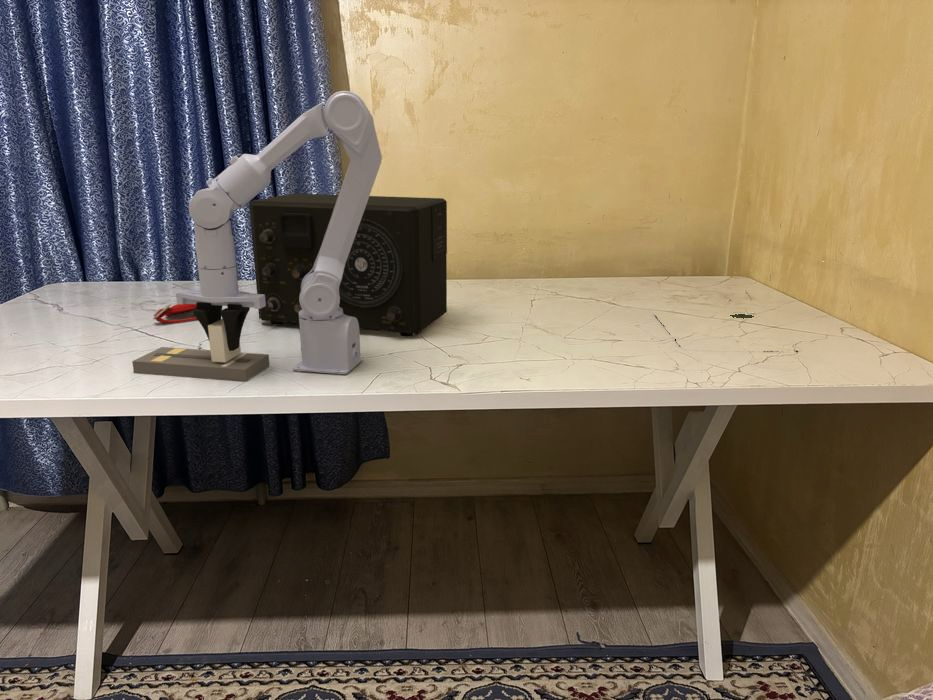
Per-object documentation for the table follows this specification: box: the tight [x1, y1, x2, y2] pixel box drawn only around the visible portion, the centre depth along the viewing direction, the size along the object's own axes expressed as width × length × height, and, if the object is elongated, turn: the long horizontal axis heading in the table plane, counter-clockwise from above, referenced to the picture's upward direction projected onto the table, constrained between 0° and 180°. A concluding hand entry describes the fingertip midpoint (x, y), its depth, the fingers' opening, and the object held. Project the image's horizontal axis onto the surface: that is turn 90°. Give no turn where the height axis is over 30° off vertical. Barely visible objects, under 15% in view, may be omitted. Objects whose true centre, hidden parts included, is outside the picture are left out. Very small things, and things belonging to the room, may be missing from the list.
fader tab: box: [208, 318, 242, 362], centre depth 116 cm, size 2×5×6 cm, turn 169°
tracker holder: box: [152, 303, 198, 324], centre depth 149 cm, size 12×4×10 cm
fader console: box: [131, 346, 270, 382], centre depth 118 cm, size 20×8×2 cm, turn 78°
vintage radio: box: [248, 193, 448, 338], centre depth 143 cm, size 38×20×25 cm, turn 73°
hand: (225, 348), depth 116 cm, fingers closed on fader tab, 2 cm apart
